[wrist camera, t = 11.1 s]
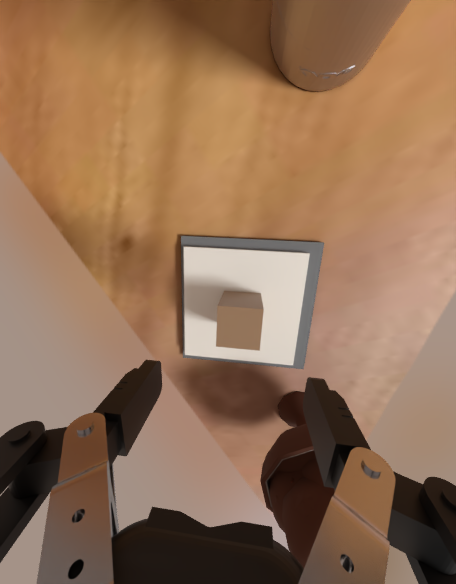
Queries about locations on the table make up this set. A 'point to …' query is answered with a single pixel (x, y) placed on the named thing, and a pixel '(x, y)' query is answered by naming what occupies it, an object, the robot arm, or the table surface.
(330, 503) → the robot arm
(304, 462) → the ice cream bowl
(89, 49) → the table surface
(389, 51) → the table surface
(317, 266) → the mat
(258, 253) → the lid
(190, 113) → the table surface
